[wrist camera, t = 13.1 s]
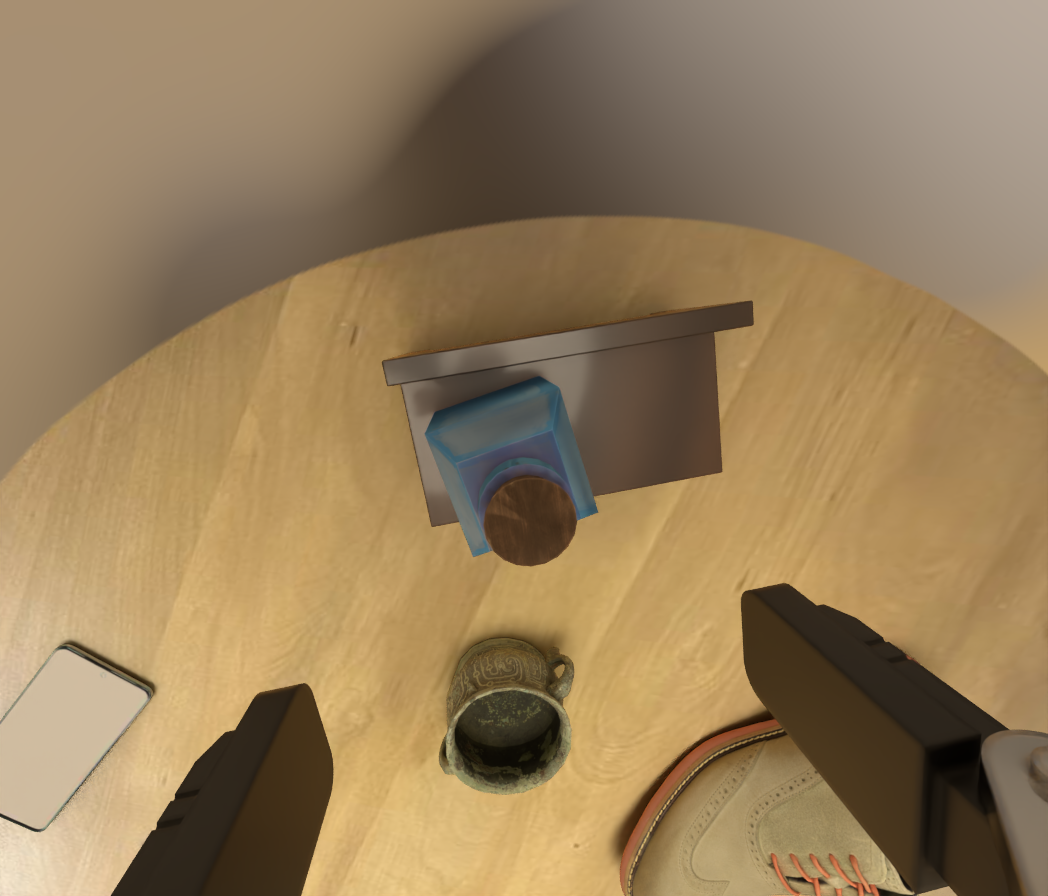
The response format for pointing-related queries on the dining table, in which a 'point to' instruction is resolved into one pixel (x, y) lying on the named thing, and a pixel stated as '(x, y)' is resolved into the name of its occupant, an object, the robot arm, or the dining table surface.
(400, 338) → the dining table surface
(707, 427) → the wooden display stand
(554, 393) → the perfume bottle
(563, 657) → the vessel
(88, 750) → the smartphone
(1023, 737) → the robot arm
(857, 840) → the oxford shoe
